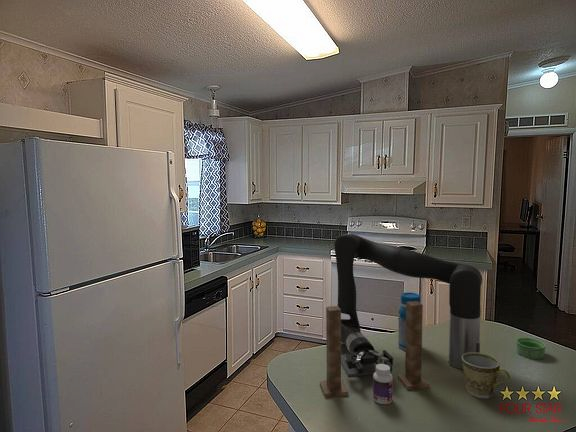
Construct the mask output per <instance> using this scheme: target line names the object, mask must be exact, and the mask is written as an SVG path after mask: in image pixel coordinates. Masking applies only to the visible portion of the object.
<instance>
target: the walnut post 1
mask: <svg viewBox="0 0 576 432" xmlns="http://www.w3.org/2000/svg"><path fill="white" fill-rule="evenodd" d="M325 308H326V310H325V311H326V314H325V315H326V317H325V318H326V322H325V323H326V324H325V325H326V326H325V327H326V331H325V332H326V336H325V337H326V380H320V381H319V386H320V389H321V391H322V393H323V396H324V398H325V399H327V398H336V397H348V396H349V392H350V391H349V390H348V388H347V386H346V384H345V382H344V380H343V379H342V365H341V357H342V342H341V319H342V313H341V309H340V308H339V307H338V305H331V306H330V305H329V306H326V307H325Z"/></svg>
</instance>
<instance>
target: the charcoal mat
mask: <svg viewBox="0 0 576 432" xmlns="http://www.w3.org/2000/svg"><path fill="white" fill-rule="evenodd" d="M352 362H355V361H354V360H353V359H352ZM341 367H342V368H343V369H344V371H345V373H346V376H347V377H358V376H362V375H361V374H360V373H358V372H357V370H356V369H355V368H352V369H349V368H348V366H347V364H346V362H345V356H341ZM362 367H363V369H364V375H363V376H371V375H372V376H373V374H374V373H375V372H376V365H374V364H367V365H365V364H364V365H363V366H362Z"/></svg>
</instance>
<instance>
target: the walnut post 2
mask: <svg viewBox="0 0 576 432" xmlns="http://www.w3.org/2000/svg"><path fill="white" fill-rule="evenodd" d="M423 307H424V306H423V304H422V303H421V302H420V303H419V302H418V301H412V302H406V351H405V361H404V362H405V363H404V364H405V366H404V367H405V373H402V374H397V379H398V380H399V383H401V385H402V386H403V387H404V388H405V390H407V391H413V390H424V389H425V390H426V389H430V382H428V381H427V380H426V379H425V377H423V375H422V360H423V359H422V357H423V356H422V355H423V353H422V351H423V311H424V310H423Z"/></svg>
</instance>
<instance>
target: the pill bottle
mask: <svg viewBox="0 0 576 432" xmlns="http://www.w3.org/2000/svg"><path fill="white" fill-rule="evenodd" d="M372 399H373V401H374V402H375V403H377V404H380V405H388V404H391V403H392V401H393V375H392V374H391V373H390V367H389V366H388V365H386V364H378V365H376V372H375V373H374V374H372Z"/></svg>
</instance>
